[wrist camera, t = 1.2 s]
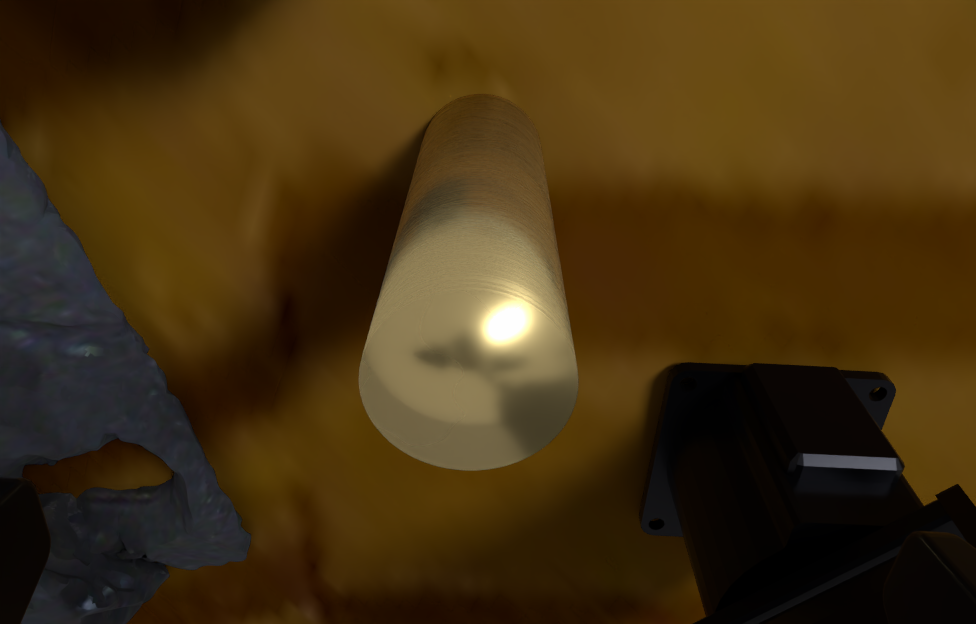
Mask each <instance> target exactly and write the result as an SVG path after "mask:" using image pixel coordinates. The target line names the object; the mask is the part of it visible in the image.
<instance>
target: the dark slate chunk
mask: <svg viewBox="0 0 976 624" xmlns="http://www.w3.org/2000/svg"><path fill="white" fill-rule="evenodd" d="M148 351H149V348H148V347H147V346H146V345H145V343H144V341H143V338H142V337H141V336H140V335H139V334H138V333H137V332H136V331H135V330H134V329H133V328H132V327H131V326H130V325H129V323H128V322H127V320H126V318H125V316H124V313H123V312H122V311H121V310H120V309H119V308H118V307H117V306H116V305H115V304H113V303H112V301H111V300H110V298H109V296H108V295H107V293H106V291H105V290H104V288H103V287H102V285H101V283H100V282H99V280H98V279H97V277H96V275H95V273H94V270H93V268H92V265H91V263H90V261H89V260H88V258H87V256H86V254H85V252H84V249H83V247H82V244H81V242H80V240H79V238H78V237H77V235H76V234H75V233H74V232H73V231H72V230H71V229H70V228H69V227H68V226H67V225H66V224H64V223H63V221H62V220H61V218H60V215H59V212H58V211H57V209H56V208H55V206H54V205H53V204H52V203H51V202H50V201H49V199H48V196H47V192H46V189H45V186H44V184H43V182H42V181H41V179H40V178H39V177H38V175H37V174H36V173H35V172H34V171H33V170H32V169H31V168H30V167H29V166H28V163H26V162H25V160H24V159H23V157H22V156H21V154H20V150H19V148H18V146H17V145H16V144H15V143H14V141H13V140H12V139H11V137H10V136H9V134H8V133H7V132H6V131H5V129H4V128H3V126H2V124H1V121H0V476H3V477H20V478H22V472H23V468H24V466H25V465H28V464H40V465H42V464H46V463H48V465H51V466H52V465H55V463H56V462H57V461H58V460H60V459H63V458H67V457H72V456H77V455H81V454H84V453H86V452H89V451H96V450H99V449H100V448H101V447H102V446H103V445H105V444H106V443H108V442H109V441H111V440H114V439H117V438H119V439H120V440H121V441H124V442H129V443H135V444H139V445H141V446H143V447H144V448H145V449H146V450H148V451H150V452H152V453H153V454H155V455H157V456H158V457H160V458H161V459H162V460H163V461H164V462H165V463H166V464H167V465H168V466H169V467H170V468H171V469H172V470H173V471H174V472H175V473H174V476H173V477H172V478H171V479H170V480H168V481H166V482H165V483H163V484H161V485H158V486H144V487H140V488H138V489H129V490H112V489H106V488H90V489H87V490H86V491H84V492H83V493H82V494H81V495H80V496H79V497H78V498H77V499H76V498H75V497H74V496H73V495H72V494H71V493H47V494H38V495H39V499H40V502H41V505H42V509H43V512H44V515H45V518H46V522H47V525H48V528H49V532H50V537H51V548H50V553H49V557H48V560H47V563H46V565H45V568H44V570H43V572H42V575H41V577H40V579H39V582H38V584H37V586H36V589H35V591H34V594H33V596H32V598H31V601H30V603H29V605H28V608H27V610H26V612H25V615H24V617H23V620H22V622H21V624H126V623H127V622H128V621H129V620H130V619H131V618H132V617H133V616H134V614H135V613H136V612H137V611H138V610H139V609H140V607H141V605H142V604H143V603H145V602H147V601H148V600H150V599H151V598H152V596H153V595H154V594H155V592H156V590H157V589H158V588H159V586H160V585H161V584H162V583H163V582H164V581H165V580H166V579H167V578H168V577H169V576H170V575H169V573H168V570H167V568H166V567H165V566H164V565H169V566H172V567H176V568H180V569H186V570H196V569H198V568H199V567H201V566H205V565H214V566H220V565H224V564H226V563H227V562H229V561H233V562H238V561H243V560H245V559H246V557H247V551H248V548H249V546H250V542H251V534H249V533H247V532H246V531H245V530H244V529H243V528H242V527H241V522H242V518H241V517H240V515H239V514H238V513H237V512H236V511H235V509H234V507H233V504H232V502H231V500H230V499H229V497H228V496H227V495H226V494H225V493H224V492H223V491H222V490H221V489H220V488H219V486H218V483H217V479H216V475H215V472H214V469H213V468H212V467H211V465H210V464H209V463H208V461H207V459H206V457H205V454H204V452H203V449H202V447H201V444H200V442H199V441H198V439H197V437H196V435H195V433H194V431H193V429H192V426H191V424H190V421H189V419H188V417H187V415H186V412H185V410H184V409H183V407H182V404H181V402H180V401H179V400H178V398H177V397H175V396H174V395H173V394H172V393H171V392H170V391H168V390H167V381H166V376H165V374H164V372H163V371H162V370H161V369H160V368H159V367H158V365H157V363H156V362H155V360H154V359H153V358H151V357H150V356H148V355H147V353H148ZM155 561H157V562H160V563H154V562H155Z"/></svg>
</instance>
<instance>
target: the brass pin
mask: <svg viewBox="0 0 976 624" xmlns="http://www.w3.org/2000/svg"><path fill="white" fill-rule="evenodd" d="M359 388H360V394H361V398H362V402H363V405H364V407H365V409H366V412H367V414H368V416H369V417H370V419H371V421H372V422H373V424H374V425H375V427H376V428H377V429H378V430H379V431H380V433H381V434H382V435H383V436H384V437H385V438H386V439H387V440H388V441H390V442H391V443H392V444H393V445H394V446H396V447H397V448H399V449H400V450H401V451H403V452H405V453H406V454H408V455H410V456H412V457H414V458H416V459H418V460H421V461H423V462H425V463H429V464H432V465H435V466H438V467H443V468H448V469H456V470H486V469H493V468H498V467H503V466H506V465H510V464H513V463H516V462H518V461H520V460H523V459H525V458H527V457H529V456H531V455H533V454H534V453H536V452H538V451H539V450H541V449H542V448H543V447H545V446H546V445H547V444H549V443H550V442H551V441H552V440H553V439H554V438H555V437H556V436H557V435H558V434H559V432H560V431H561V430H562V428H563V427H564V426H565V424H566V423H567V421H568V419H569V417H570V416H571V413H572V411H573V408H574V406H575V403H576V398H577V394H578V371H577V364H576V358H575V352H574V346H573V340H572V333H571V327H570V321H569V315H568V309H567V303H566V297H565V290H564V284H563V278H562V272H561V266H560V260H559V254H558V247H557V241H556V235H555V229H554V223H553V217H552V211H551V204H550V198H549V192H548V186H547V180H546V174H545V168H544V161H543V155H542V149H541V143H540V139H539V135H538V132H537V130H536V128H535V126H534V124H533V122H532V121H531V119H530V118H529V117H528V115H527V114H526V113H525V112H524V111H523V110H522V109H521V108H519V107H518V106H517V105H515V104H514V103H512V102H510V101H508V100H506V99H504V98H501V97H498V96H494V95H488V94H474V95H468V96H464V97H461V98H458V99H456V100H454V101H452V102H450V103H449V104H447V105H446V106H444V107H443V108H442V109H441V110H440V111H439V112H438V113H437V114H436V115H435V116H434V117H433V119H432V120H431V122H430V123H429V125H428V127H427V129H426V132H425V135H424V138H423V141H422V145H421V148H420V152H419V156H418V159H417V163H416V166H415V170H414V173H413V177H412V180H411V184H410V188H409V191H408V195H407V198H406V202H405V205H404V209H403V212H402V216H401V220H400V223H399V227H398V230H397V234H396V237H395V241H394V244H393V248H392V252H391V255H390V259H389V262H388V266H387V269H386V273H385V277H384V280H383V284H382V287H381V291H380V294H379V298H378V301H377V305H376V309H375V312H374V316H373V319H372V323H371V326H370V330H369V333H368V337H367V341H366V344H365V348H364V351H363V355H362V359H361V363H360V368H359Z"/></svg>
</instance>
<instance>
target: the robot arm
mask: <svg viewBox="0 0 976 624" xmlns="http://www.w3.org/2000/svg"><path fill="white" fill-rule="evenodd" d="M688 377H691V378H693V380H692V381H691V382H689V383H687V384H682V383H680V382H681V380H683V379H684V378H688ZM877 387H880V388H879V390H878V391H876V392H874V393H870V392H871V390H873V389H874V388H877ZM895 393H896V388H895V386H894V384H893V383H892V382H891V380H890V379H889V378H888V377H887V376H886V375H885V374H883V373H879V372H867V371H847V370H838V369H837V368H835V367H818V366H799V365H779V364H759V363H753V364H750V365H729V364H710V363H690V362H688V363H681V364H679V365H676V366H675V367H674V368H673V369H671V370H670V373H669V375H668V378H667V383H666V388H665V393H664V398H663V402H662V407H661V412H660V417H659V421H658V426H657V431H656V436H655V441H654V445H653V450H652V455H651V460H650V465H649V469H648V474H647V479H646V484H645V488H644V493H643V498H642V503H641V508H640V512H639V519H640V524H641V528H642V529H643V531H644V532H646V533H647V534H650V535H658V536H680V537H684V540H685V544H686V548H687V551H688V555H689V558H690V562H691V565H692V569H693V572H694V576H695V579H696V583H697V586H698V590H699V593H700V597H701V601H702V604H703V608H704V611H705V615H706V617H704V618H703V619H701V620H699V621H697V622H695V623H693V624H976V507H975V505H974V504H973V503H972V501H971V500H970V499H969V498H968V496H967V495H966V494H965V492H964V491H963V490H962V488H961V487H960V486H959V485H958V484H956V485H954V486H952V487H950V488H948V489H946V490H944V491H942V492H941V493H939V494H937V495H935V496H936V497H937V500H935V501H933V502H931V503H929V504H927V505H925V506H924V505H923V504H922V502H921V501H920V499H919V498H918V496H917V495H916V493H915V492H914V490H913V489H912V487H911V486H910V485H909V483H908V482H907V480H906V479H905V477H904V476H903V474H902V472H903V470H904V467H905V466H904V462H903V461H902V460H901V458H900V457H899V455H898V454H897V452H896V451H895V449H894V448H893V447H892V445H891V444H890V442H889V441H888V439H887V438H886V436H885V435H884V434H883V432H882V431H881V430H882V427H883V425H884V422H885V419H886V417H887V414H888V412H889V409H890V407H891V404H892V402H893V399H894V397H895ZM656 518H659V519H658V520H656V521H651V520H653V519H656ZM50 548H51V537H50V532H49V528H48V525H47V522H46V518H45V515H44V512H43V509H42V505H41V502H40V499H39V495H38V492H37V489H36V487H35V485H34V484H33V483H32V482H31V481H30V480H29V479H26V478H20V477H3V476H0V624H21V622H22V620H23V617H24V615H25V612H26V610H27V608H28V605H29V603H30V601H31V598H32V596H33V594H34V591H35V589H36V586H37V584H38V582H39V579H40V577H41V575H42V572H43V570H44V568H45V565H46V563H47V560H48V557H49V553H50Z"/></svg>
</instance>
